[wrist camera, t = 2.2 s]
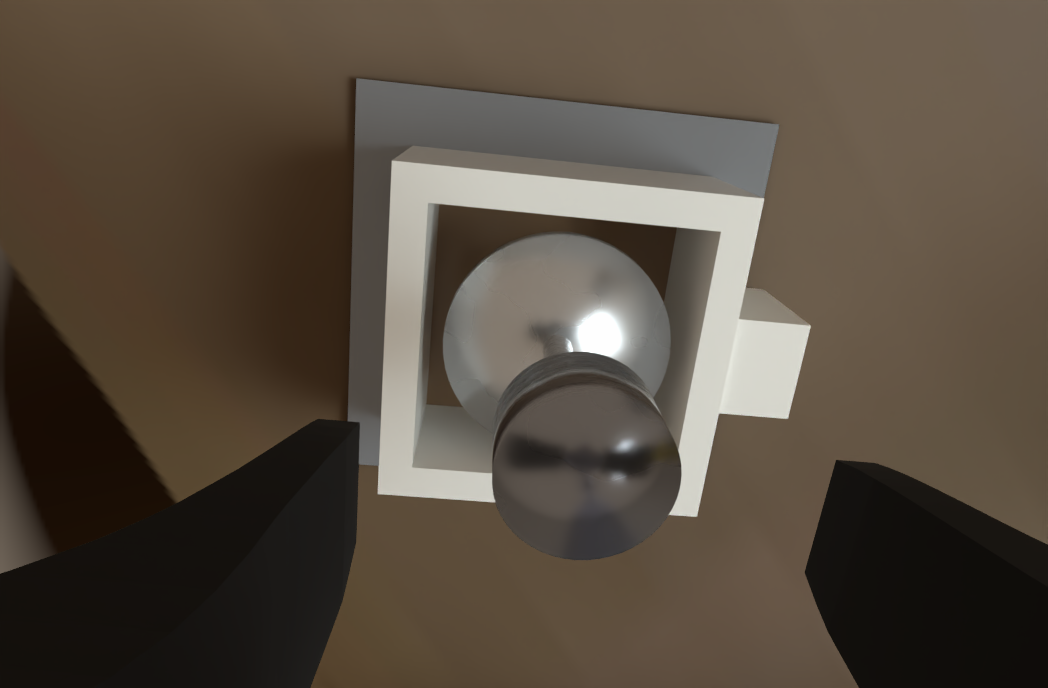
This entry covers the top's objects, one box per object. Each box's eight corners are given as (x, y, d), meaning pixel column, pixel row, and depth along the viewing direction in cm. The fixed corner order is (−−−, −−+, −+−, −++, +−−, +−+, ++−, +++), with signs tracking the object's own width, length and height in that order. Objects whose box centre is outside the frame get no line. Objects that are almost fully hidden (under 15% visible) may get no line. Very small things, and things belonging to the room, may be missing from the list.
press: (709, 487, 23) (753, 570, 19) (347, 459, 22) (315, 541, 18) (787, 125, 19) (862, 135, 15) (357, 78, 18) (319, 76, 15)
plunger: (647, 449, 19) (720, 628, 12) (437, 432, 18) (406, 609, 12) (684, 243, 17) (791, 333, 11) (452, 220, 17) (425, 300, 10)
